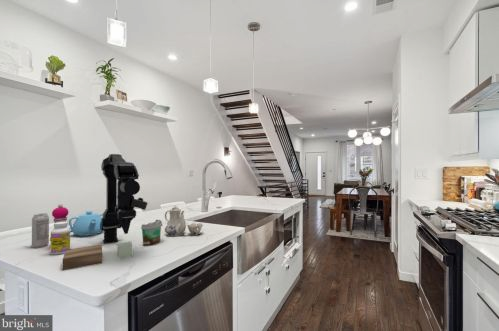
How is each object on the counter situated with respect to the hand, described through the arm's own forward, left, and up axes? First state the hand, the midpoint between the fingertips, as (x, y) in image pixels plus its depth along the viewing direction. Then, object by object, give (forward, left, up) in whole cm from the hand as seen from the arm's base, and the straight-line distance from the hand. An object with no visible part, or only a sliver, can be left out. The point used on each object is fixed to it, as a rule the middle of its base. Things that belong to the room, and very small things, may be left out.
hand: (125, 231), depth 100 cm
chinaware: (-23, +29, -10) cm, 39 cm away
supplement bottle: (-20, -23, -10) cm, 32 cm away
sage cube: (0, 0, -10) cm, 10 cm away
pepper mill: (-29, -24, -10) cm, 39 cm away
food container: (-12, +14, -10) cm, 21 cm away
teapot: (-48, -13, -10) cm, 51 cm away
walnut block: (-2, -14, -10) cm, 17 cm away
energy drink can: (-36, -32, -10) cm, 49 cm away
